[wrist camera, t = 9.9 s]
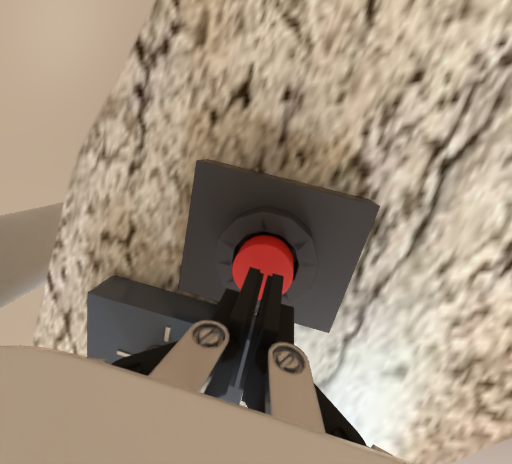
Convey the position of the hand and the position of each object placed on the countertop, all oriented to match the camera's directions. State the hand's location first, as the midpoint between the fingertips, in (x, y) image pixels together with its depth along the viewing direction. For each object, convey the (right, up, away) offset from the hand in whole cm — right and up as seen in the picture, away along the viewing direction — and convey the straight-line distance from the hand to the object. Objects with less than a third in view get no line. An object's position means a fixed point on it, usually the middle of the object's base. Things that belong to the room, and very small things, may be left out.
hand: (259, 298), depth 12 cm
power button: (0, +1, +4) cm, 4 cm away
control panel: (-8, -7, +12) cm, 16 cm away
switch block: (+1, +2, +8) cm, 8 cm away
